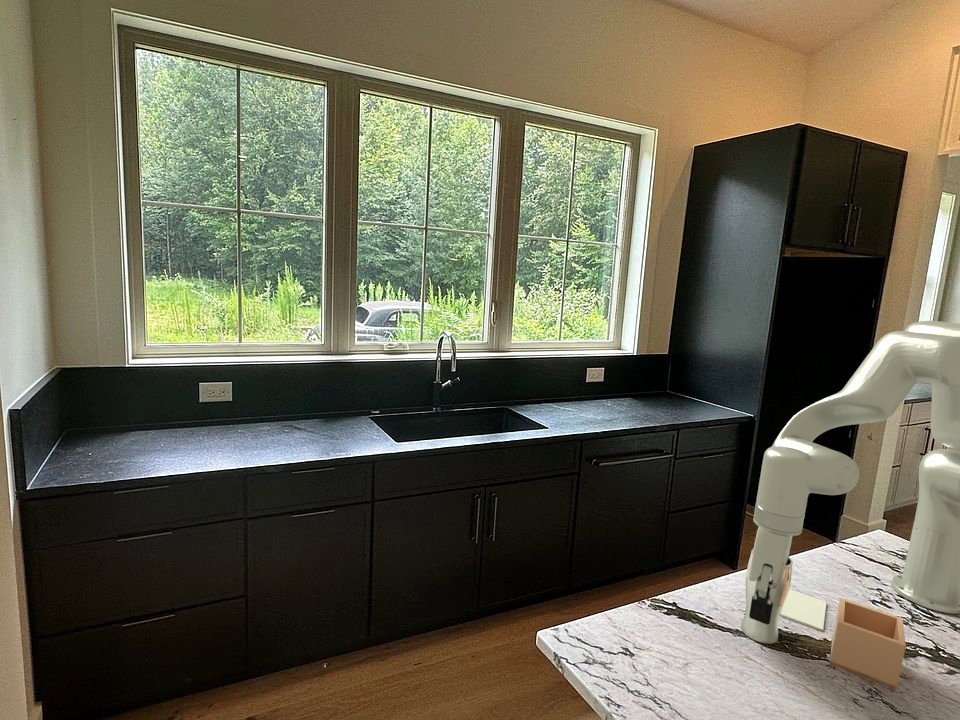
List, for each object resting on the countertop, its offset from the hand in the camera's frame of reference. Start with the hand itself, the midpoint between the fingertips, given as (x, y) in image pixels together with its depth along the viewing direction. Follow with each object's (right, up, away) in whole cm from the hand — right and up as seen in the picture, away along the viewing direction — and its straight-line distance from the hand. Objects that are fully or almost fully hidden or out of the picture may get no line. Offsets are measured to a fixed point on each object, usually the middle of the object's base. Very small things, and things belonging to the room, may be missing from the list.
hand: (762, 608), depth 98 cm
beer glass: (0, -5, +1) cm, 5 cm away
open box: (+14, -7, -5) cm, 16 cm away
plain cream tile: (+11, -4, +10) cm, 15 cm away
